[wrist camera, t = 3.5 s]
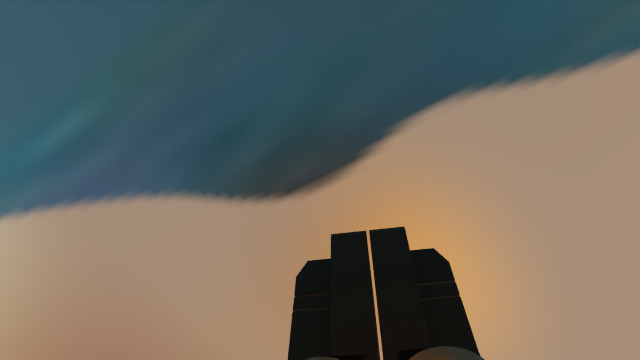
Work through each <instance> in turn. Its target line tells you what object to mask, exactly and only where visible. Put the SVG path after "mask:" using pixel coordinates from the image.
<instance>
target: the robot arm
mask: <svg viewBox="0 0 640 360" xmlns="http://www.w3.org/2000/svg"><path fill="white" fill-rule="evenodd" d="M369 233H370V241H371V252H372V261H373V270H374V279H375V288H376V296H377V306H378V315H379V324H380V333H381V342H382V351H383V360H484V359H483V358H482V357H481V356H480V354H479V352H478V349H477V346H476V343H475V340H474V337H473V333H472V330H471V327H470V324H469V321H468V319H467V315H466V312H465V309H464V306H463V303H462V300H461V297H460V296H459V291H458V288H457V285H456V283H455V279H454V276H453V273H452V270H451V267H450V264H449V262H448V261H447V260H446V259H445V258H444V257H443V256H442V255H440V254H439V253H438V252H437V251H436V250H435V249H433V248H432V249H421V250H411V251H410V249H409V245H408V240H407V236H406V231H405V228H404V227H396V228H387V229H377V230H369ZM288 360H380V354H379V345H378V335H377V325H376V316H375V307H374V297H373V288H372V280H371V270H370V261H369V253H368V245H367V235H366V231H359V232H349V233H339V234H332V235H331V259H323V260H312V261H307V263H306V264H305V266H304V267H303V268H302V270H301V271H300V272H299V274H298V275H297V277H296V284H295V298H294V304H293V313H292V323H291V333H290V344H289V352H288Z"/></svg>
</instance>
